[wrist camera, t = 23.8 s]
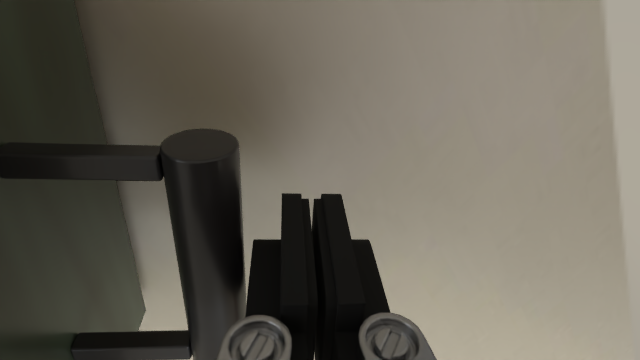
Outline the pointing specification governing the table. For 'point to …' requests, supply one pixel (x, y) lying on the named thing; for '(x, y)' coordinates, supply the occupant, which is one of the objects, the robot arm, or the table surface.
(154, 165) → the drawer
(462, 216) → the table surface
